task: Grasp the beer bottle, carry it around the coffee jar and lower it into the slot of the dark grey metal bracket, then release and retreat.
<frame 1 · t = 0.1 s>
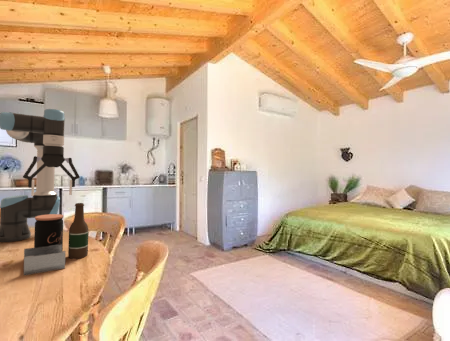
hand: (52, 195, 112), 28 cm above the table, fingers open, 13 cm apart
coffee jar: (48, 256, 117), on the table
bracket: (44, 266, 105), on the table
beer bottle: (78, 256, 118), on the table
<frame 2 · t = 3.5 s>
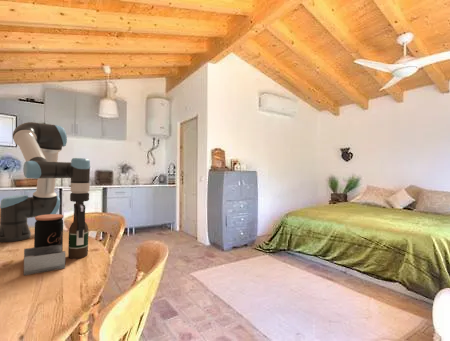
hand: (78, 242, 118), 6 cm above the table, fingers closed on beer bottle, 7 cm apart
beer bottle: (78, 256, 118), on the table, touching gripper
everything else where it was.
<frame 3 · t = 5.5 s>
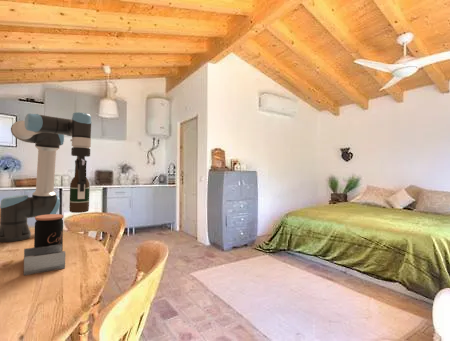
hand: (79, 197, 118), 26 cm above the table, fingers closed on beer bottle, 7 cm apart
beer bottle: (79, 211, 118), point 20 cm above the table, touching gripper
everything else where it was.
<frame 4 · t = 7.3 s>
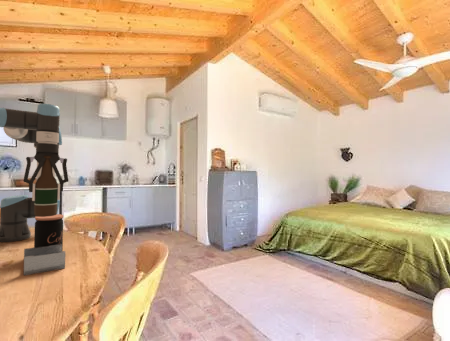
hand: (46, 199, 105), 27 cm above the table, fingers closed on beer bottle, 7 cm apart
beer bottle: (45, 215, 105), point 20 cm above the table, touching gripper
everything else where it was.
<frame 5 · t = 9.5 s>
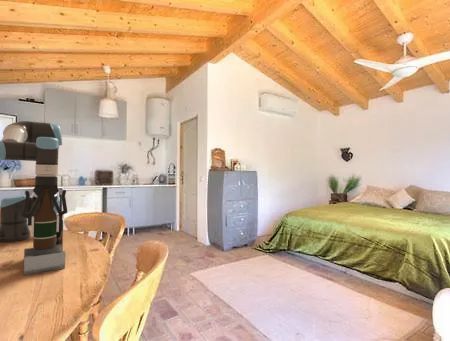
hand: (45, 232, 105), 14 cm above the table, fingers closed on beer bottle, 7 cm apart
beer bottle: (44, 248, 105), point 7 cm above the table, touching gripper
everything else where it was.
when the fingers open (9 cm above the table, at t = 11.4 s): beer bottle drops 1 cm, resting on bracket.
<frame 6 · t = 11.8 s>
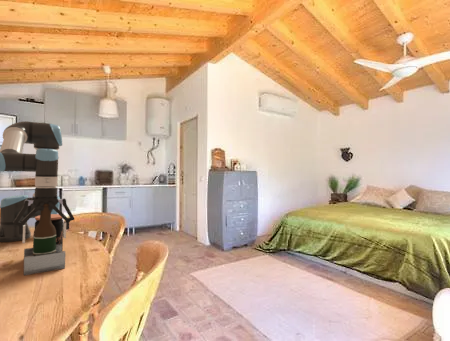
hand: (44, 240, 105), 11 cm above the table, fingers open, 13 cm apart
beer bottle: (44, 263, 105), point 1 cm above the table, touching bracket
everything else where it was.
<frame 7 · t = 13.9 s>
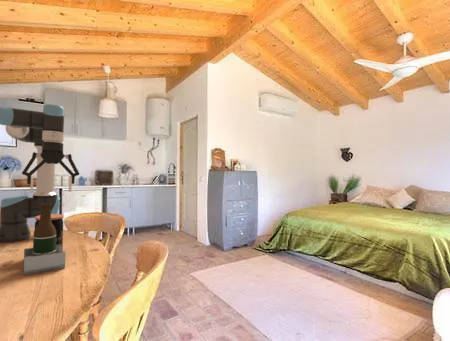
hand: (51, 191, 111), 30 cm above the table, fingers open, 13 cm apart
nothing on the table moved.
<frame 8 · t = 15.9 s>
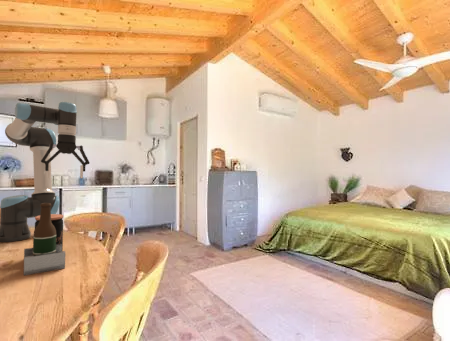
hand: (65, 178, 128), 35 cm above the table, fingers open, 13 cm apart
nothing on the table moved.
at the end: beer bottle inside the target area on the bracket (0.1 cm from its centre), point 1.3 cm above the bracket's base; beer bottle tilted 0°; the gripper is holding nothing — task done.
